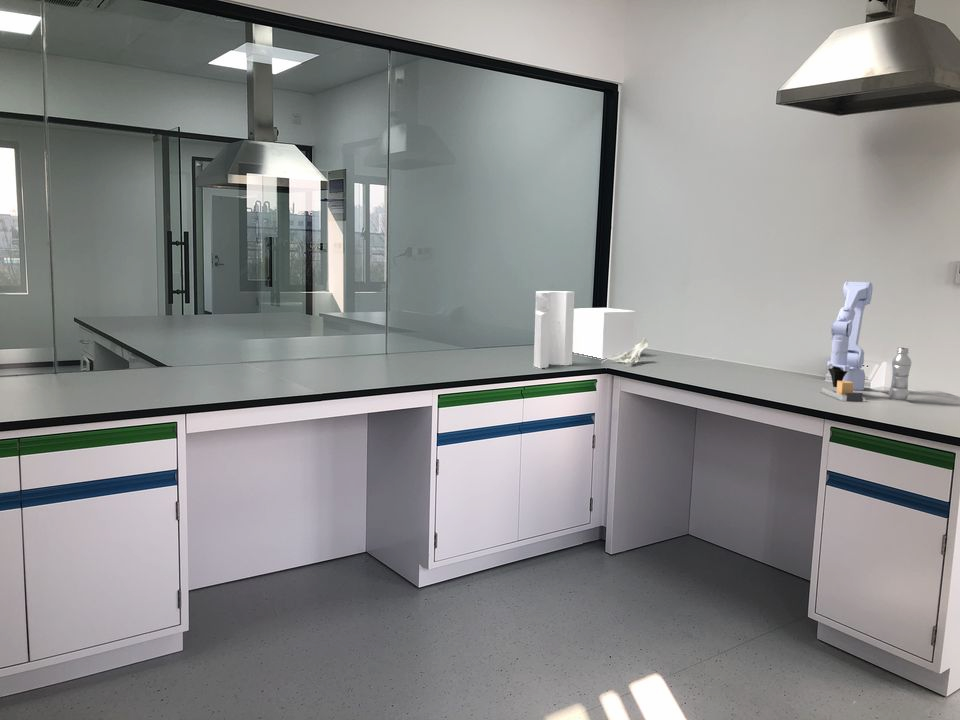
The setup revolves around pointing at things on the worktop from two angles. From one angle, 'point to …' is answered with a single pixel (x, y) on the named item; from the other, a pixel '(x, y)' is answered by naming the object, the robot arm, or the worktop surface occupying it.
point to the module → (844, 387)
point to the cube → (603, 331)
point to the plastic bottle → (900, 375)
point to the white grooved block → (553, 328)
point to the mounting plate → (841, 397)
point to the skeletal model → (631, 354)
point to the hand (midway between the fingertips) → (836, 387)
